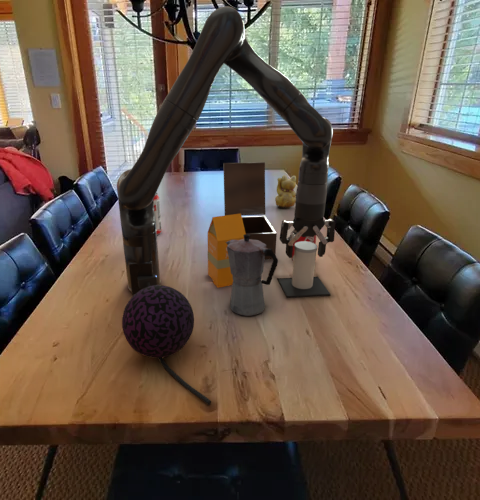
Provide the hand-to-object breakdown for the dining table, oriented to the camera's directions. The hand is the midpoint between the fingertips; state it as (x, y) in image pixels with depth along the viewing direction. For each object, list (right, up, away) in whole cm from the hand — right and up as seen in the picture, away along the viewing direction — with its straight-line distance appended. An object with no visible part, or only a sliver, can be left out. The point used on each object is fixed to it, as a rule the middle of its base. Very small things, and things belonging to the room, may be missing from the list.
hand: (304, 256), depth 103 cm
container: (0, -8, +4) cm, 9 cm away
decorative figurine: (+10, +22, +73) cm, 77 cm away
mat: (0, -9, +4) cm, 9 cm away
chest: (-13, +1, +27) cm, 30 cm away
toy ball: (-37, -20, -21) cm, 47 cm away
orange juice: (-21, -7, +8) cm, 24 cm away
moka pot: (-16, -13, -6) cm, 22 cm away
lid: (-14, +23, +29) cm, 40 cm away
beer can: (-48, +8, +44) cm, 66 cm away
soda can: (+4, -2, +19) cm, 19 cm away
